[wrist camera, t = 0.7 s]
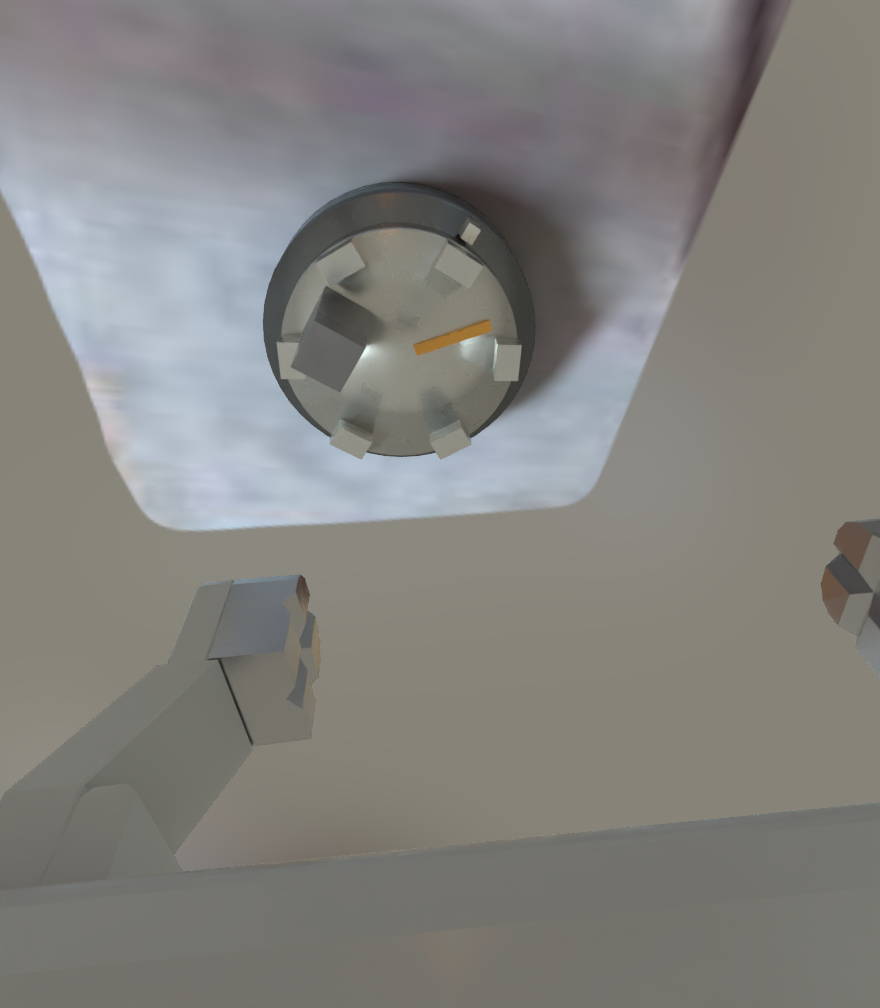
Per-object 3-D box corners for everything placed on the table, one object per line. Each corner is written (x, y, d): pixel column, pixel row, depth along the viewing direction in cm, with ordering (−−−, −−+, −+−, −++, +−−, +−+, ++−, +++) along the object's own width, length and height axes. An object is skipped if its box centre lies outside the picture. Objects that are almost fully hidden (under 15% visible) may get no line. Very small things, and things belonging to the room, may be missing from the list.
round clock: (351, 169, 37) (340, 196, 30) (558, 304, 42) (587, 352, 35) (249, 379, 44) (223, 438, 37) (437, 473, 49) (442, 538, 42)
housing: (345, 120, 39) (337, 130, 35) (576, 276, 45) (596, 302, 41) (234, 361, 48) (216, 394, 43) (441, 465, 54) (444, 504, 49)
